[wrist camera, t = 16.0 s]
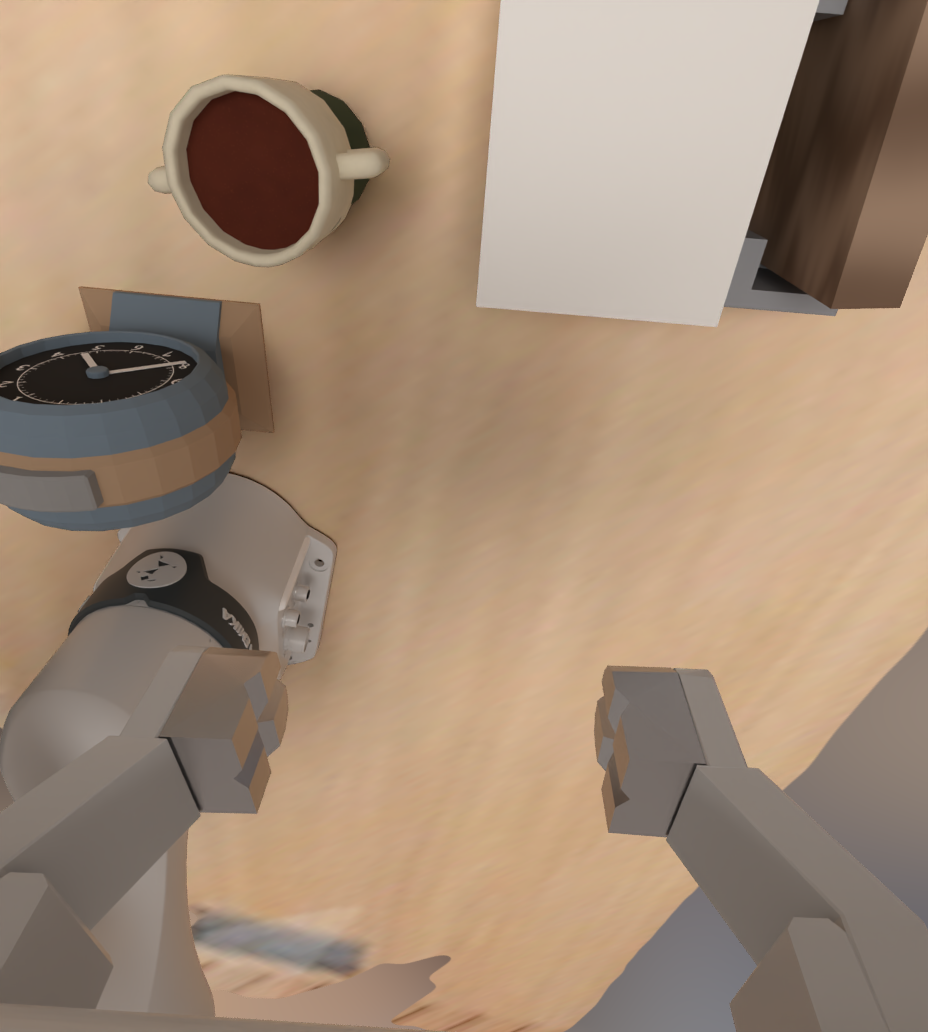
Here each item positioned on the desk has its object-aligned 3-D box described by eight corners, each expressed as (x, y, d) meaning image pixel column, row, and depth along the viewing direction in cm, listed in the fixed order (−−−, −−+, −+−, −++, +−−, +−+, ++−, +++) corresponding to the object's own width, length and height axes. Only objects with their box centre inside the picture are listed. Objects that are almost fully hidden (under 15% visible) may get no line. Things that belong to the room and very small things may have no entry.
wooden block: (809, 250, 37) (922, 307, 27) (742, 252, 37) (831, 308, 27) (881, -8, 30) (1068, -58, 20) (798, -5, 30) (944, -52, 20)
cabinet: (785, 283, 39) (872, 340, 30) (480, 257, 39) (476, 306, 30) (907, -53, 30) (1086, -118, 21) (509, -88, 30) (514, -168, 21)
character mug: (248, 225, 38) (153, 275, 28) (214, 88, 34) (87, 86, 24) (418, 213, 38) (386, 260, 27) (403, 71, 33) (359, 61, 23)
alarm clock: (274, 305, 41) (154, 419, 27) (287, 432, 47) (193, 583, 32) (65, 285, 41) (-169, 388, 27) (103, 415, 47) (-74, 559, 32)
